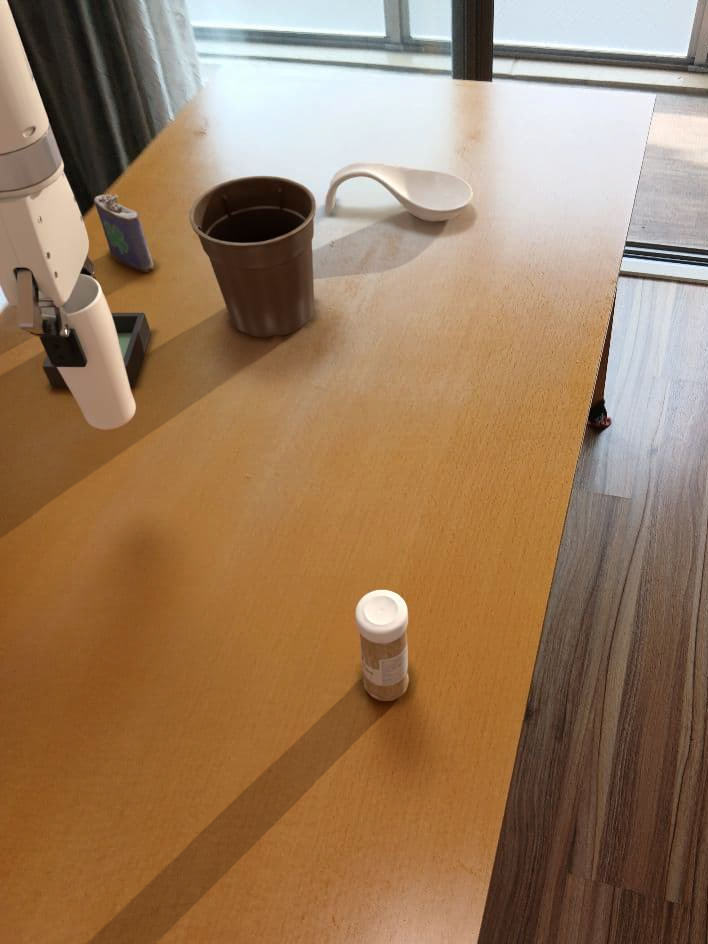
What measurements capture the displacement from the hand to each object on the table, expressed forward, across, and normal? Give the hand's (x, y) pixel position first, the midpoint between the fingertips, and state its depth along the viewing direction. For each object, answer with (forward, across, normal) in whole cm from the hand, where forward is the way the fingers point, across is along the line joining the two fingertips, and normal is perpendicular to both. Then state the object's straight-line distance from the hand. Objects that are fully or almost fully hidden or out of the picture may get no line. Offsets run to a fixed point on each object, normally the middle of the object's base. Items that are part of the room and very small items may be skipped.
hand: (80, 337), depth 77 cm
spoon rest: (+24, -61, +29) cm, 71 cm away
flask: (+24, -48, -12) cm, 55 cm away
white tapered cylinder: (+10, 0, 0) cm, 10 cm away
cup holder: (+24, -24, -11) cm, 36 cm away
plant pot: (+24, -35, +11) cm, 44 cm away
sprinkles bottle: (+23, +24, +29) cm, 45 cm away
